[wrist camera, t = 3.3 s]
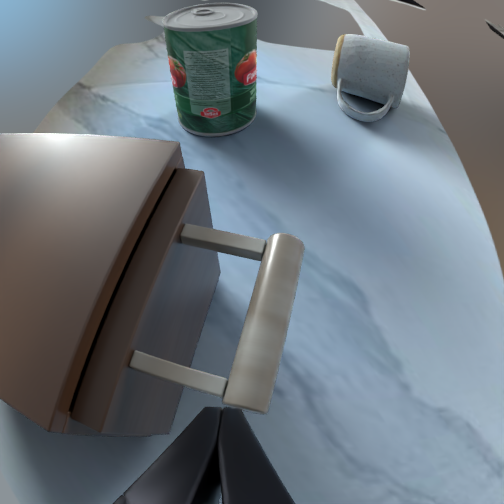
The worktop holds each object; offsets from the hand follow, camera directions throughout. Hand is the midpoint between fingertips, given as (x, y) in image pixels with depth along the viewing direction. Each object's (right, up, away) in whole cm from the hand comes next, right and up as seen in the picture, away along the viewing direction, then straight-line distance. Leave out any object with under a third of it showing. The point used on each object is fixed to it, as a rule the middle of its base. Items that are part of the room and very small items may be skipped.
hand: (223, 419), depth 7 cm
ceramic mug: (+14, +21, +26) cm, 36 cm away
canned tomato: (-3, +18, +24) cm, 30 cm away
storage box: (-10, 0, +12) cm, 16 cm away
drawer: (-6, -1, +11) cm, 13 cm away
